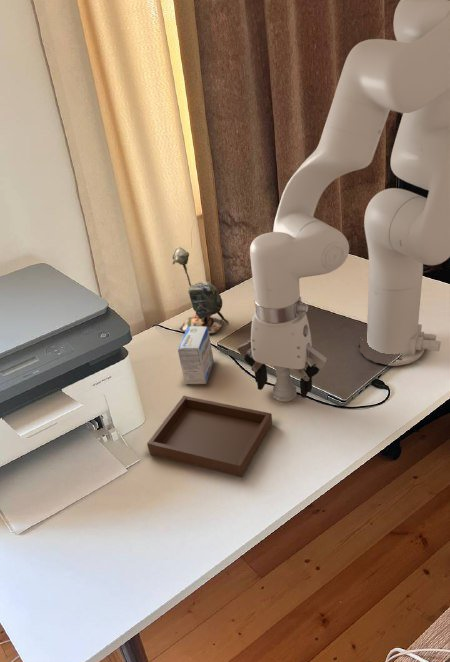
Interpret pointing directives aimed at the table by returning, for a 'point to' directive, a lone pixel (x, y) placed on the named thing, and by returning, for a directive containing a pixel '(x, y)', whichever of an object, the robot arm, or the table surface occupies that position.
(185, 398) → the tray
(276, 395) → the rook chess piece
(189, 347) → the medicine box
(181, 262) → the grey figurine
